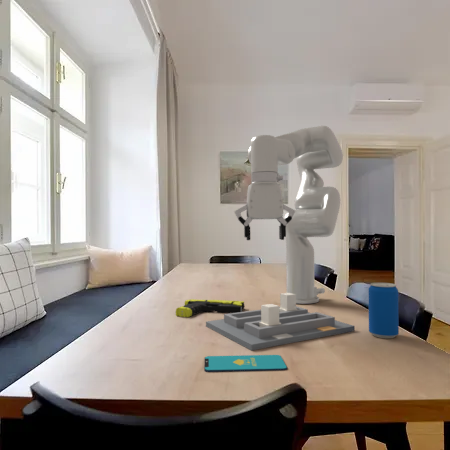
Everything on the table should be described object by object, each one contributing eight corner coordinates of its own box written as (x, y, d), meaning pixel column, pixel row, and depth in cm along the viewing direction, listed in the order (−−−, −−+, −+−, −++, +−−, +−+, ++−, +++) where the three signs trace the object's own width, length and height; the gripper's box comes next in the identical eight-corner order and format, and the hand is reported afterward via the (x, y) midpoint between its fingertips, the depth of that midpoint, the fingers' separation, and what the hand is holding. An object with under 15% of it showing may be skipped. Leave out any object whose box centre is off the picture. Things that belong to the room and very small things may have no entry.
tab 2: (290, 313, 105) (290, 292, 105) (297, 315, 102) (297, 294, 102) (278, 314, 103) (278, 293, 103) (285, 317, 100) (285, 295, 100)
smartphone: (288, 367, 67) (204, 369, 66) (288, 372, 67) (204, 374, 66) (280, 354, 74) (204, 355, 74) (280, 358, 74) (204, 360, 74)
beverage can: (398, 333, 90) (398, 283, 90) (398, 340, 84) (398, 287, 84) (369, 330, 92) (369, 281, 92) (367, 337, 87) (367, 285, 87)
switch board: (297, 312, 111) (296, 302, 111) (354, 330, 92) (354, 317, 92) (205, 326, 97) (205, 313, 97) (251, 350, 78) (251, 335, 78)
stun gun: (237, 310, 104) (245, 300, 118) (171, 307, 108) (187, 298, 122) (237, 321, 104) (245, 309, 118) (171, 317, 108) (187, 307, 122)
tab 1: (273, 327, 90) (273, 303, 90) (281, 330, 87) (281, 305, 87) (259, 329, 88) (259, 305, 88) (267, 333, 85) (266, 307, 85)
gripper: (291, 181, 111) (291, 238, 111) (233, 181, 110) (233, 239, 110) (297, 178, 103) (298, 239, 104) (235, 178, 102) (236, 240, 102)
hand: (265, 239), depth 107 cm, fingers open, 9 cm apart
